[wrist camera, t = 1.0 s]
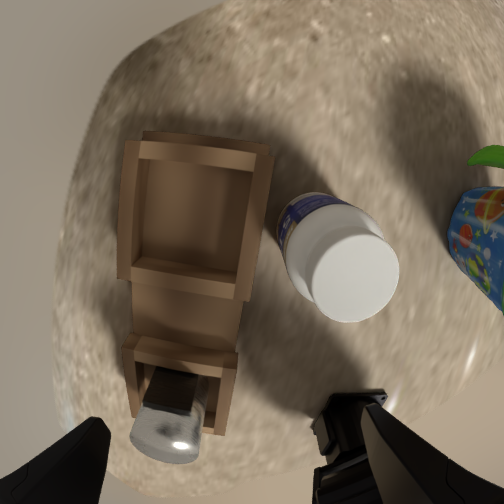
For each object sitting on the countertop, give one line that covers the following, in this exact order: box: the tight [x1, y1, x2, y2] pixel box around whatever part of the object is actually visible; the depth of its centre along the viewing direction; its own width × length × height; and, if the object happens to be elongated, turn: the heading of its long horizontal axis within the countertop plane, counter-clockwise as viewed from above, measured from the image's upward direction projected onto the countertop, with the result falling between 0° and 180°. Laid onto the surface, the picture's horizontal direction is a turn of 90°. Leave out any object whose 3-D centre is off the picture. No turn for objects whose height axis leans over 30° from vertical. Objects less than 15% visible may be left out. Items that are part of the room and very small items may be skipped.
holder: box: [117, 131, 275, 436], centre depth 19 cm, size 8×24×4 cm, turn 171°
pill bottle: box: [276, 192, 399, 323], centre depth 15 cm, size 5×5×9 cm
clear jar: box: [130, 366, 209, 464], centre depth 18 cm, size 5×5×7 cm
